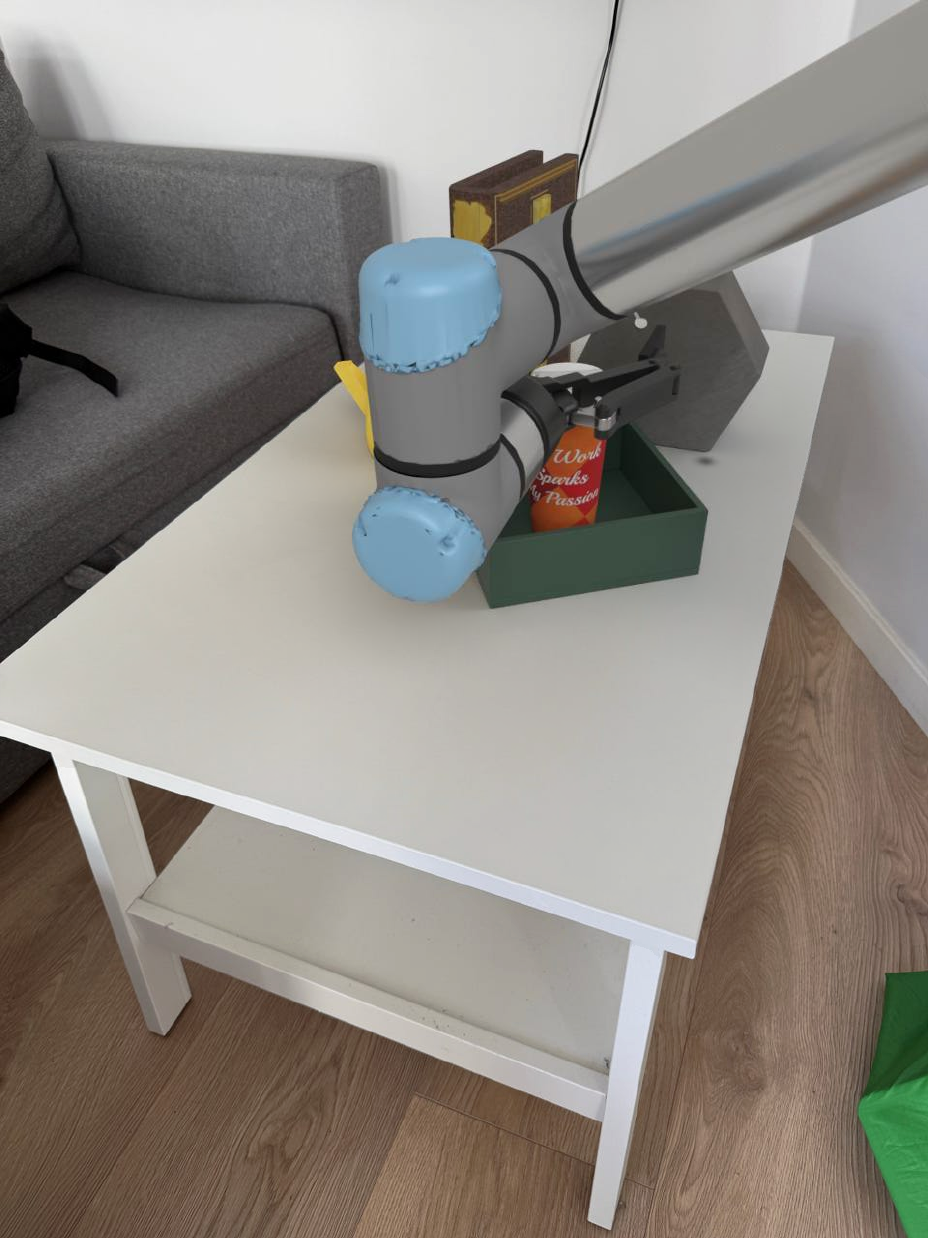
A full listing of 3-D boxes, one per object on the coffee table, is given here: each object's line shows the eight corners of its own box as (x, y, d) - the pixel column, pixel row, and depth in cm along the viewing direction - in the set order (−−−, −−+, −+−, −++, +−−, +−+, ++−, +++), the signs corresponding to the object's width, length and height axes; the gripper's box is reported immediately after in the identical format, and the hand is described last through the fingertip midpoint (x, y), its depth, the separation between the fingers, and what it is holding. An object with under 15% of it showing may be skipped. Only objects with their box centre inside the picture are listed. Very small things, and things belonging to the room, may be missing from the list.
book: (505, 426, 106) (504, 196, 91) (443, 411, 110) (432, 187, 94) (587, 358, 121) (598, 149, 105) (530, 346, 124) (533, 143, 109)
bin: (698, 574, 83) (708, 510, 78) (490, 609, 80) (489, 544, 75) (622, 470, 97) (627, 412, 93) (444, 497, 94) (441, 437, 90)
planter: (791, 390, 100) (707, 217, 93) (783, 421, 95) (693, 239, 87) (654, 448, 110) (569, 296, 103) (640, 478, 105) (549, 320, 97)
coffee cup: (512, 545, 86) (512, 396, 76) (528, 499, 92) (530, 356, 83) (601, 554, 84) (613, 403, 75) (612, 508, 90) (623, 362, 81)
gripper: (344, 462, 70) (451, 356, 85) (667, 519, 62) (722, 391, 77) (332, 369, 65) (447, 274, 81) (680, 417, 58) (735, 302, 73)
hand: (582, 331), depth 79 cm, fingers open, 13 cm apart
